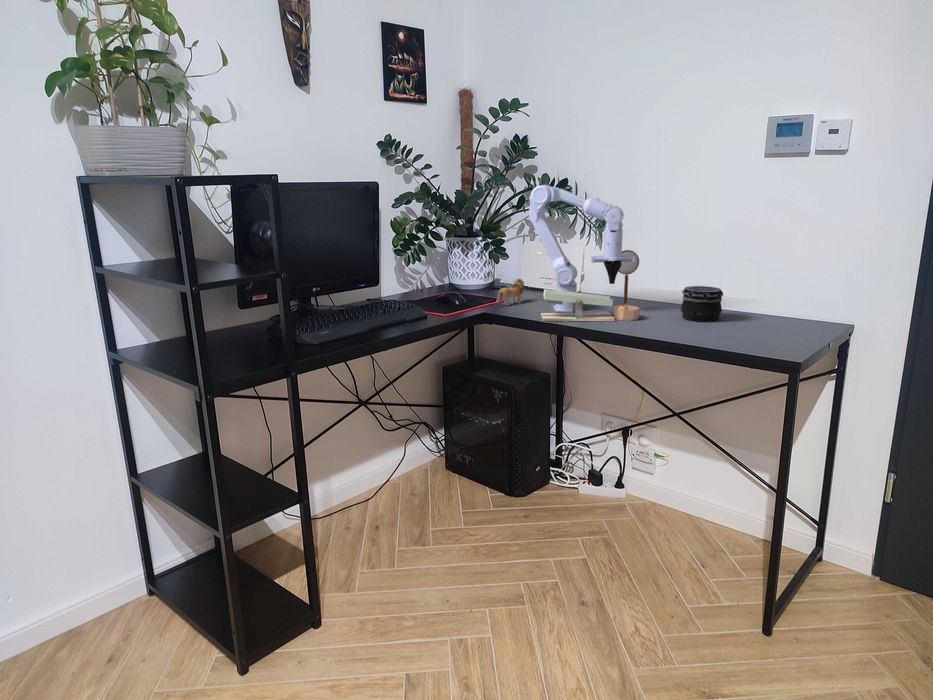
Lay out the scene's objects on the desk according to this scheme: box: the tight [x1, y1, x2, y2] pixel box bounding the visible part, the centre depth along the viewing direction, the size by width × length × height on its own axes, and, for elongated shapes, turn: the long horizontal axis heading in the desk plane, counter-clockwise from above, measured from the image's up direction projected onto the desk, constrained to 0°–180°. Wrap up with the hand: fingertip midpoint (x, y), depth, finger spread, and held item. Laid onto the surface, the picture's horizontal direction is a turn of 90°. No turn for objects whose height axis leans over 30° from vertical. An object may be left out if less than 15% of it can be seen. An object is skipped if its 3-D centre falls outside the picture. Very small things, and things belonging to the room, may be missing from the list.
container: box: [680, 285, 724, 323], centre depth 215 cm, size 13×13×10 cm
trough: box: [542, 288, 614, 308], centre depth 221 cm, size 12×23×4 cm, turn 88°
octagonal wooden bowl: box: [612, 304, 640, 322], centre depth 218 cm, size 8×8×4 cm
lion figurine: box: [495, 278, 525, 307], centre depth 243 cm, size 15×5×9 cm, turn 139°
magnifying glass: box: [618, 249, 640, 305], centre depth 236 cm, size 9×2×20 cm, turn 93°
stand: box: [540, 300, 616, 323], centre depth 218 cm, size 11×23×7 cm, turn 88°
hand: (611, 283), depth 226 cm, fingers closed
